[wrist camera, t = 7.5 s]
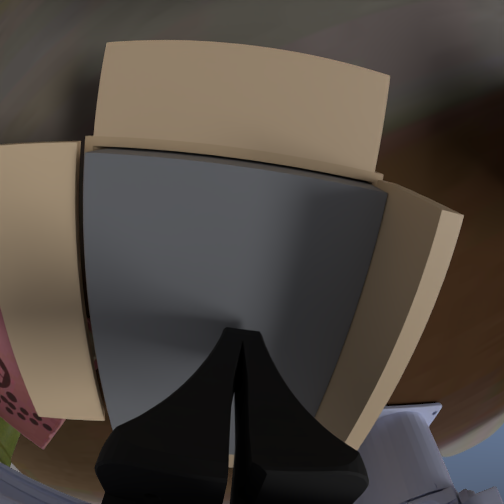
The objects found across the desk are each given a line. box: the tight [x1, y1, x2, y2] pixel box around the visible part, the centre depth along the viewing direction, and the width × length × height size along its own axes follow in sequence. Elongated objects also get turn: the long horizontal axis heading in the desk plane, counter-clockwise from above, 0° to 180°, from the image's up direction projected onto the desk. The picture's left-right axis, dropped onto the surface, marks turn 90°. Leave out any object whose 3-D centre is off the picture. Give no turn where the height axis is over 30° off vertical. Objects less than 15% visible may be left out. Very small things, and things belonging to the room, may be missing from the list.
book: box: [0, 308, 98, 450], centre depth 19 cm, size 14×15×5 cm
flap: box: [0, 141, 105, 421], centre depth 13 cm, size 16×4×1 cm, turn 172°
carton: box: [83, 40, 390, 468], centre depth 16 cm, size 24×12×6 cm, turn 172°
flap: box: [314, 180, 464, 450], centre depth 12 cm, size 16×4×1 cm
